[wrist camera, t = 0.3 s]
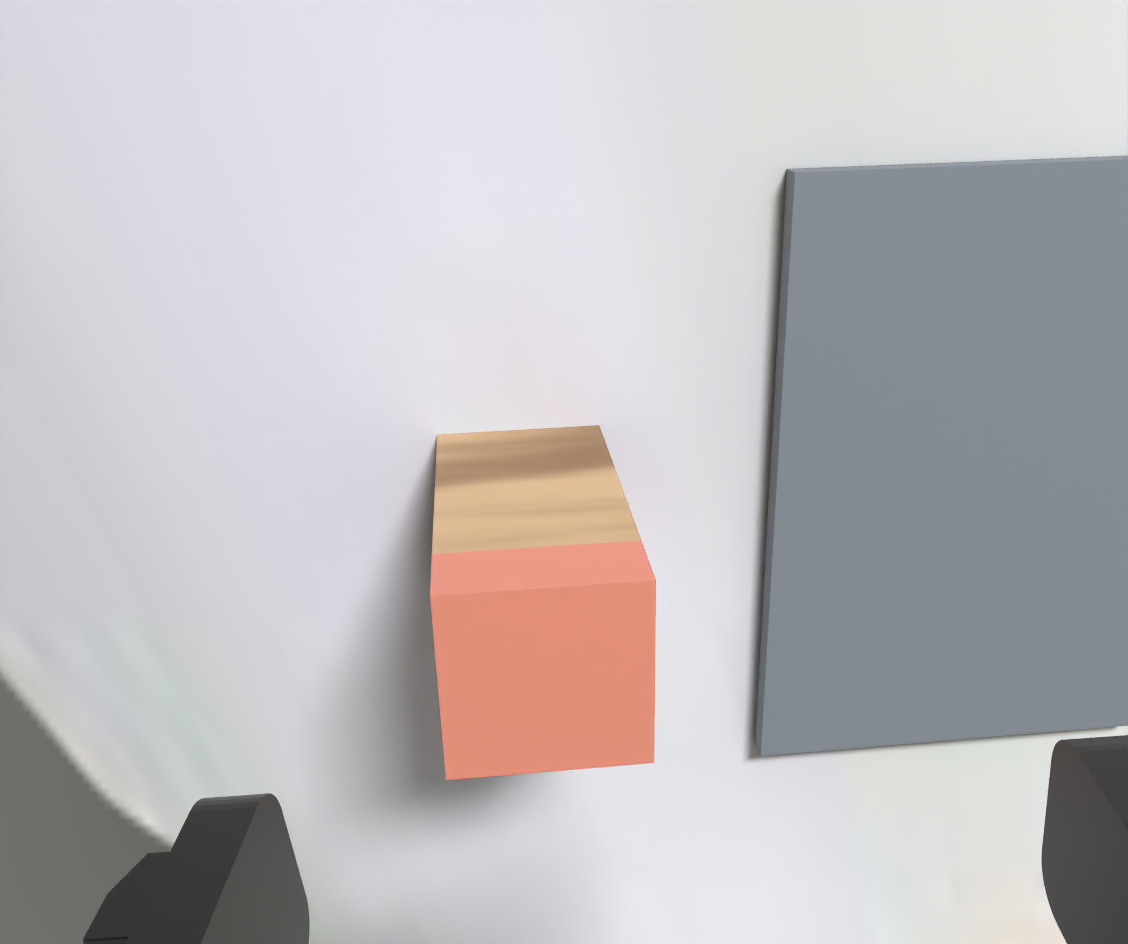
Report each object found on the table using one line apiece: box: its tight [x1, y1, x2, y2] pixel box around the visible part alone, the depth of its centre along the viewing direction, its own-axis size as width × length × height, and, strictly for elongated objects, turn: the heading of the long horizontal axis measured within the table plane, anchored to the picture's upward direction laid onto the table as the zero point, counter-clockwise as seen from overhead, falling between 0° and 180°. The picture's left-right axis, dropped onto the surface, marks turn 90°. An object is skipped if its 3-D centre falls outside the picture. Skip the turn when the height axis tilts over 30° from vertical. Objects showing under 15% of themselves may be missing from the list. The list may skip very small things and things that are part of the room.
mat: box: [755, 156, 1128, 756], centre depth 34 cm, size 20×14×1 cm
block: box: [430, 425, 656, 780], centre depth 29 cm, size 5×5×10 cm
